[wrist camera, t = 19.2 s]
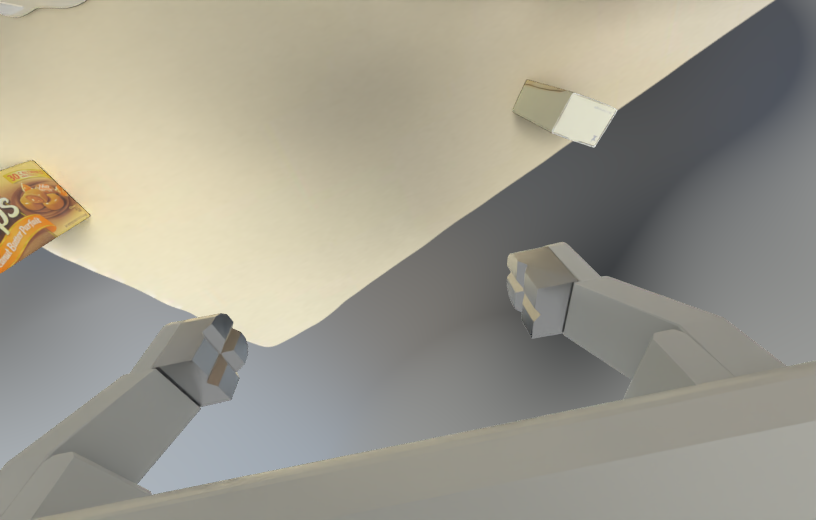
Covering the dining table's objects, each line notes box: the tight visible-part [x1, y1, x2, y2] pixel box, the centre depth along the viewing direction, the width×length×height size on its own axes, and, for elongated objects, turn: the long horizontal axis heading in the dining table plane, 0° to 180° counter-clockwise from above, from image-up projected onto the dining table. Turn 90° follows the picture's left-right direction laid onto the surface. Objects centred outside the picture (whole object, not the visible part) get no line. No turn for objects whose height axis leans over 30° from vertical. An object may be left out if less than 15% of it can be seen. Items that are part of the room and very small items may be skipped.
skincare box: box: [513, 80, 617, 147], centre depth 38 cm, size 6×4×12 cm
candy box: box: [0, 161, 90, 273], centre depth 37 cm, size 9×4×15 cm, turn 17°
